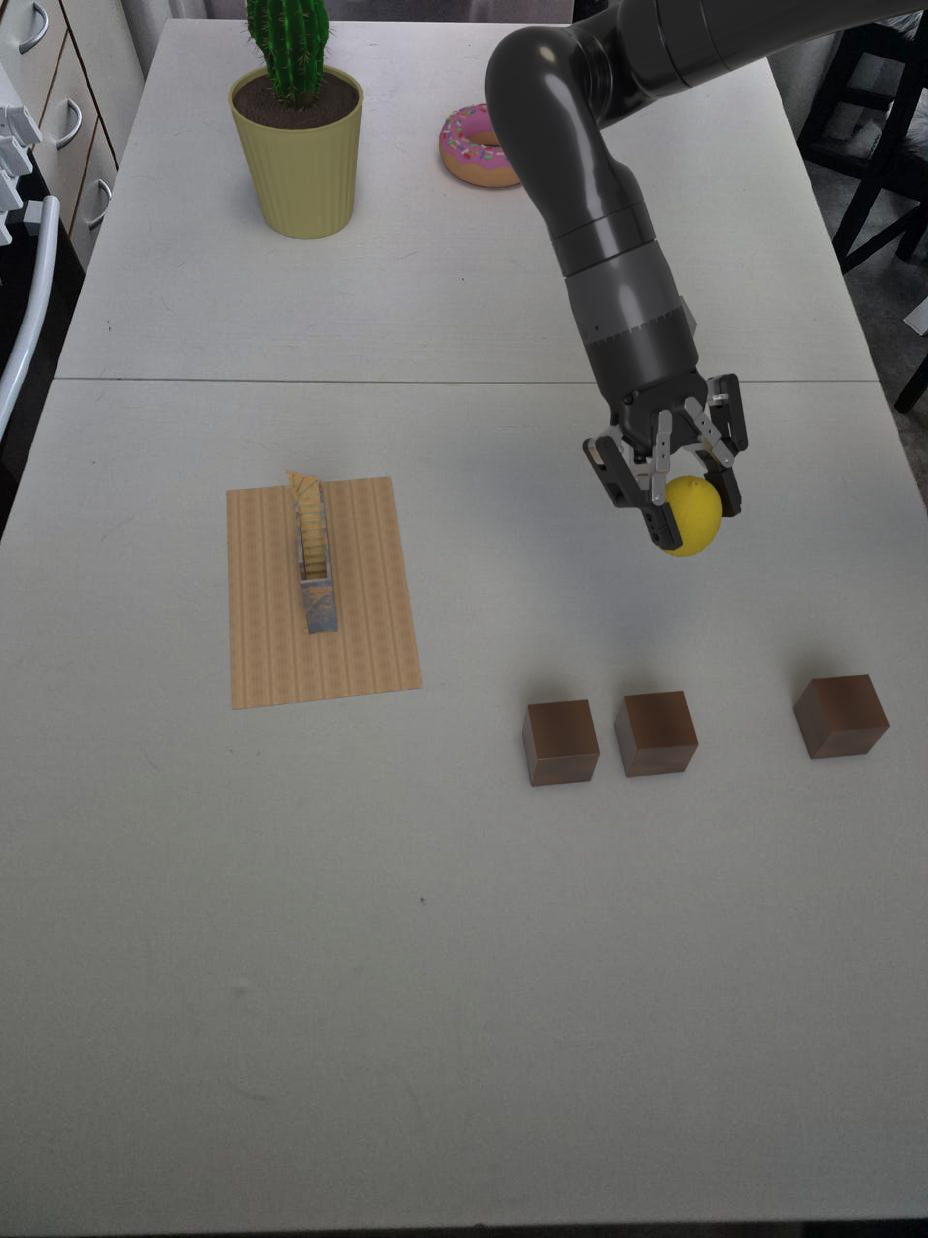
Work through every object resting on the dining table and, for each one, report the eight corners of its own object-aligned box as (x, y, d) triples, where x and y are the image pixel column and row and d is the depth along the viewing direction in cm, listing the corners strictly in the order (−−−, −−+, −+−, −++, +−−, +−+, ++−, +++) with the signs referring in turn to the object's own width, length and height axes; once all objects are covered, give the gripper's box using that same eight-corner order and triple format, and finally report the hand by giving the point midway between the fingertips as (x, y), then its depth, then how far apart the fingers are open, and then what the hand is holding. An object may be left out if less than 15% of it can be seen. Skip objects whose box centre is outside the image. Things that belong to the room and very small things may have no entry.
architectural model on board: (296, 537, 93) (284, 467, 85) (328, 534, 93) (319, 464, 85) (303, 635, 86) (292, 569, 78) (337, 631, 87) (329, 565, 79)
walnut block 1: (579, 726, 82) (587, 697, 78) (590, 781, 79) (600, 754, 75) (521, 731, 82) (527, 702, 78) (531, 787, 79) (537, 760, 75)
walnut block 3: (846, 701, 85) (868, 672, 81) (867, 754, 82) (890, 726, 78) (791, 706, 84) (811, 677, 80) (810, 759, 81) (831, 732, 77)
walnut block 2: (670, 717, 83) (683, 688, 79) (684, 772, 80) (699, 744, 76) (613, 723, 83) (623, 693, 79) (626, 777, 80) (637, 750, 76)
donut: (451, 197, 126) (453, 160, 122) (428, 139, 134) (428, 102, 130) (556, 186, 128) (561, 150, 124) (527, 129, 136) (531, 93, 132)
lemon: (647, 515, 81) (668, 448, 74) (712, 533, 80) (739, 467, 74) (633, 564, 78) (653, 499, 71) (700, 583, 77) (727, 519, 71)
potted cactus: (381, 186, 127) (371, -79, 102) (352, 256, 118) (335, -15, 93) (267, 170, 128) (230, -96, 103) (231, 239, 119) (181, -34, 94)
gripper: (581, 347, 64) (662, 574, 69) (736, 276, 69) (802, 492, 74) (526, 363, 71) (603, 569, 76) (671, 297, 76) (735, 494, 81)
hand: (701, 530), depth 75 cm, fingers closed on lemon, 5 cm apart
